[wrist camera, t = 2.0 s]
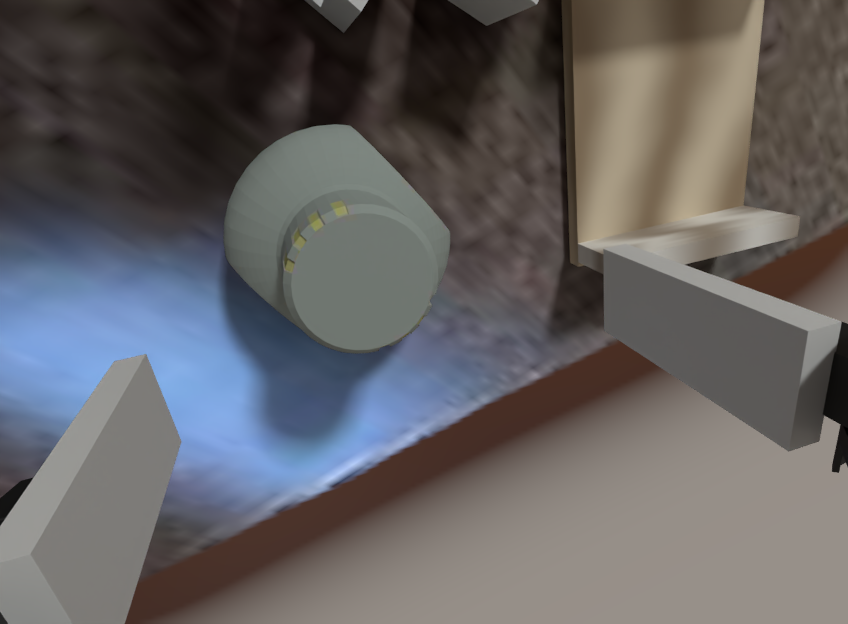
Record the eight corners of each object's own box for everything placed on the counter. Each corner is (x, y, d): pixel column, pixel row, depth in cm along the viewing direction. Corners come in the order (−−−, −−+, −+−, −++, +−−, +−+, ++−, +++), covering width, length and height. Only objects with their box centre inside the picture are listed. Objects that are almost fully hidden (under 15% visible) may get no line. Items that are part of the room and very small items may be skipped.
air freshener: (200, 214, 26) (159, 267, 17) (313, 94, 25) (334, 83, 16) (354, 342, 30) (387, 437, 21) (452, 244, 30) (529, 299, 21)
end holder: (570, 262, 32) (617, 286, 28) (559, -57, 26) (620, -93, 21) (728, 225, 35) (796, 241, 30) (757, -77, 28) (849, -114, 24)
